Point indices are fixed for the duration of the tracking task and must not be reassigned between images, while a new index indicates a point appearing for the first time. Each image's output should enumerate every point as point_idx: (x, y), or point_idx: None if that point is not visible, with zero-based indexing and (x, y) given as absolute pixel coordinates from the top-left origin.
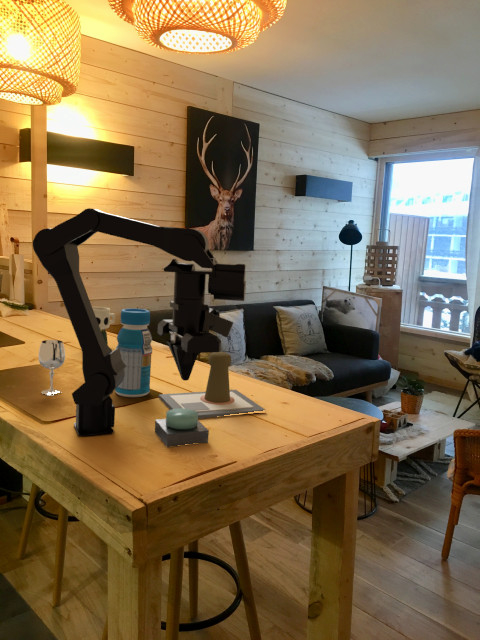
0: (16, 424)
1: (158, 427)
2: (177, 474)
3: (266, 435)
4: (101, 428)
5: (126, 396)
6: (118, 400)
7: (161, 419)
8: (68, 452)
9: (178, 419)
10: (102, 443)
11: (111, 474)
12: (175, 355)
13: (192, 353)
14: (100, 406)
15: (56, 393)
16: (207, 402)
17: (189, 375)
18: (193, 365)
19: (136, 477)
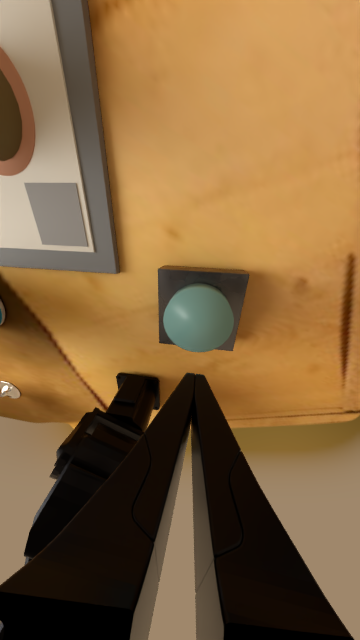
0: None
1: None
2: (322, 360)
3: (271, 66)
4: (154, 394)
5: (4, 317)
6: (23, 331)
7: (161, 334)
8: None
9: (224, 340)
10: None
11: (272, 412)
12: (163, 559)
13: (273, 630)
14: (145, 425)
15: (13, 388)
16: (24, 165)
17: (211, 392)
18: (237, 443)
19: (295, 398)
